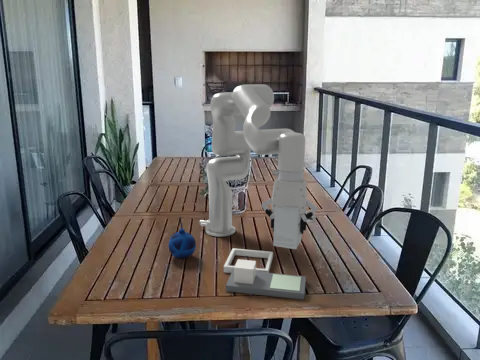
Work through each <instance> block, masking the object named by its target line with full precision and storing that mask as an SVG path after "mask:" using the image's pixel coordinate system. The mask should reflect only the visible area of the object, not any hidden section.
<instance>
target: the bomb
mask: <svg viewBox="0 0 480 360" xmlns="http://www.w3.org/2000/svg"><path fill="white" fill-rule="evenodd" d="M178 218H179V223H180V229H179V230H178V231H176V232H174V233H173V234H171V235H170V237H169V240H168V246H167V247H168V250H169V253H170V254H171V255H172V256H173V257H174V258H176V259H180V260H186V259H188V258H190V257H191V256H192V255H193V254H194V253H195V251H196V248H197V243H196V240H195V237H194V236H193V235H192V234H191V233H190V232H187V231H186V230H185V228H183V223H182V220H181V216H179V217H178Z"/></svg>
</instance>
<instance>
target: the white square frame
mask: <svg viewBox="0 0 480 360" xmlns="http://www.w3.org/2000/svg"><path fill="white" fill-rule="evenodd" d="M235 256H241V257H250V258H252V257H253V258H261V259H262V258H263V259H267V262H266V265H265V268H261V267H260V268H258V267H256V272H266V273H270V269H271V265H272V261H273V257H274V252H273V251H266V250H257V249H256V250H255V249H245V248H235V247H234V248H233V247H232V249H231V251H230V253H229V255H228V257H227V259H226V260H225V263H224V264H223V273H227V274H231V273H232V271H233V269H234V267H235V265H231V264H232V262H233V260H234V257H235Z"/></svg>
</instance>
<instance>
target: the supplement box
mask: <svg viewBox="0 0 480 360" xmlns="http://www.w3.org/2000/svg"><path fill="white" fill-rule="evenodd" d="M301 221H302V217H301V215H300V208H294V207H280V206H275V215H274V232H273V241H272V242H273V243H272V244H273V246H274V247H280V248H284V249H291V250H297V249H298V247H299V245H300V243H301V242H302V235H303V234H301Z"/></svg>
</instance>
